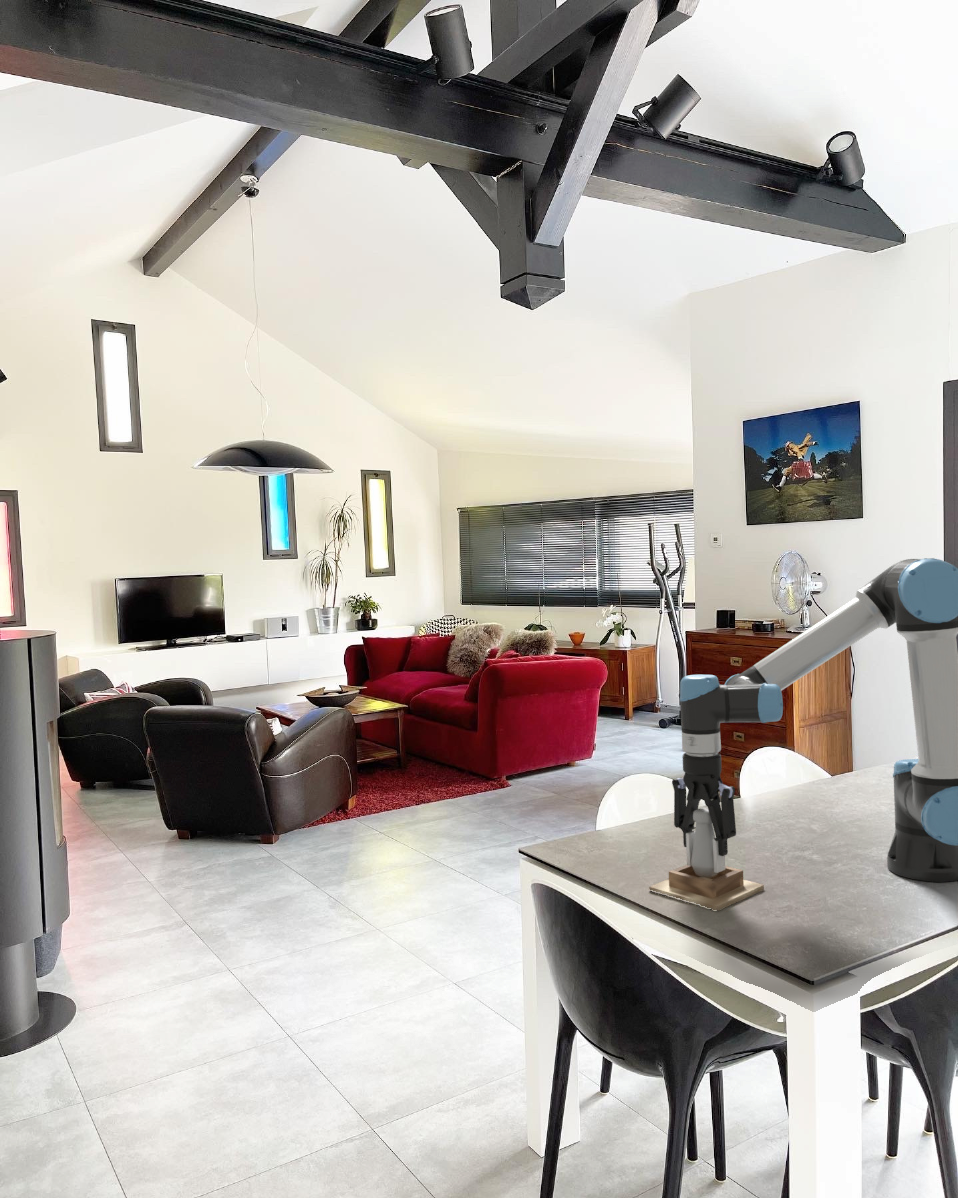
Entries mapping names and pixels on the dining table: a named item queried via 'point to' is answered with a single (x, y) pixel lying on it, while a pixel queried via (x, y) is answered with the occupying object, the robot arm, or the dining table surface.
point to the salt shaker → (703, 844)
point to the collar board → (708, 887)
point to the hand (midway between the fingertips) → (705, 867)
